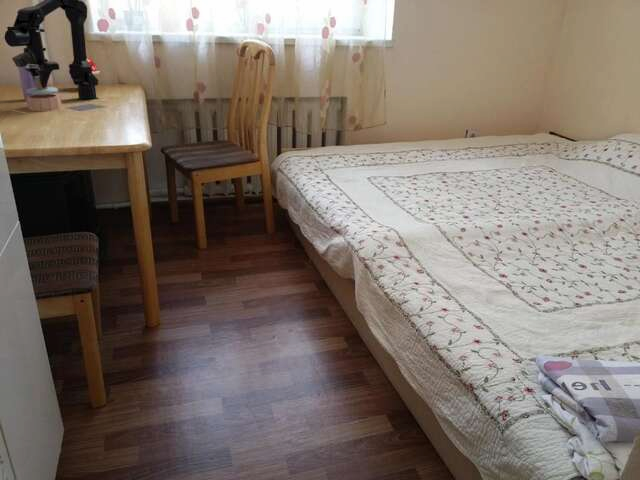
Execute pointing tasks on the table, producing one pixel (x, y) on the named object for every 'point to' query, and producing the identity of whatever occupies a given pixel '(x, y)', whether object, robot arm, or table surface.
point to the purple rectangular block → (26, 81)
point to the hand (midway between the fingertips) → (41, 87)
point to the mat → (85, 107)
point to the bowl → (44, 102)
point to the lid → (41, 88)
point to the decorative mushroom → (93, 67)
